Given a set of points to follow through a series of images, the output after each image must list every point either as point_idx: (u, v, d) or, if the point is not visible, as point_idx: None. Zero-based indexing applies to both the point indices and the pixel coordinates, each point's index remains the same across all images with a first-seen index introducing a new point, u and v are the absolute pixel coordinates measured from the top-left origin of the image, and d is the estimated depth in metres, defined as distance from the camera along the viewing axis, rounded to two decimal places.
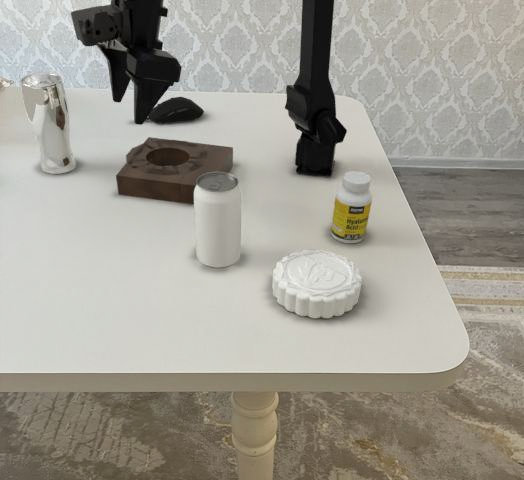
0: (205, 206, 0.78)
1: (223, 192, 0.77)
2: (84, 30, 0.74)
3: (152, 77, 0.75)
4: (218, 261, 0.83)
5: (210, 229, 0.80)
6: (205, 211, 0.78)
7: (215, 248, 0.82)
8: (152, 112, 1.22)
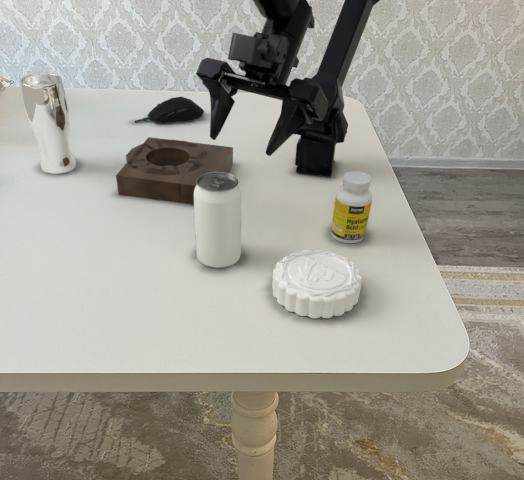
0: (205, 206, 0.78)
1: (223, 192, 0.77)
2: (265, 48, 0.74)
3: (317, 107, 0.78)
4: (218, 261, 0.83)
5: (210, 229, 0.80)
6: (205, 211, 0.78)
7: (215, 248, 0.82)
8: (152, 112, 1.22)
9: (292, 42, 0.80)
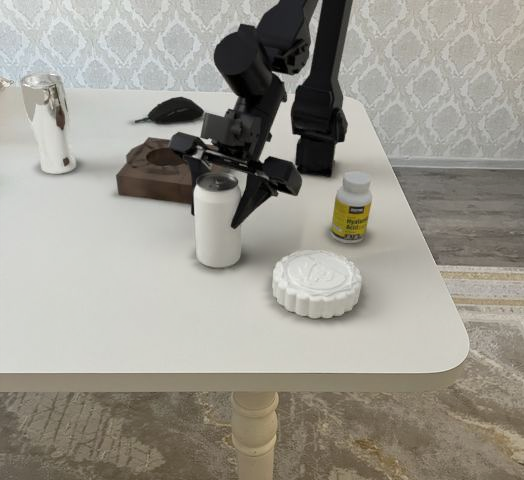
0: (205, 206, 0.78)
1: (223, 192, 0.77)
2: (238, 129, 0.73)
3: (291, 185, 0.77)
4: (218, 261, 0.83)
5: (210, 229, 0.80)
6: (205, 211, 0.78)
7: (215, 248, 0.82)
8: (152, 112, 1.22)
9: (265, 119, 0.79)
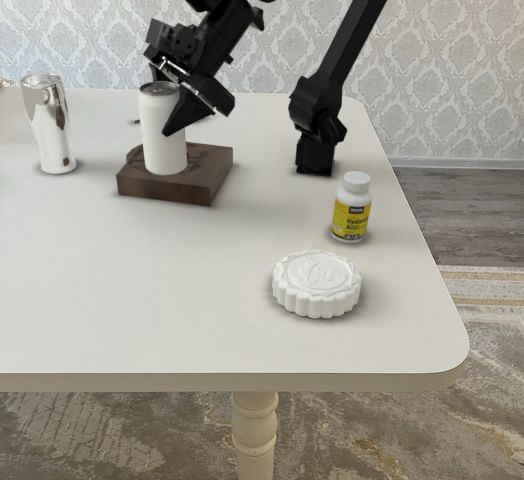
0: (140, 108, 0.84)
1: (155, 97, 0.82)
2: (165, 34, 0.77)
3: (211, 100, 0.79)
4: (154, 167, 0.89)
5: (145, 132, 0.86)
6: (141, 113, 0.85)
7: (150, 152, 0.88)
8: None
9: (218, 37, 0.82)
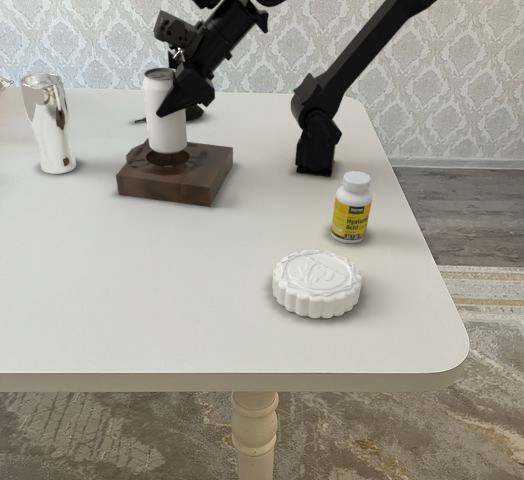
0: (143, 88, 0.94)
1: (152, 80, 0.92)
2: (160, 25, 0.86)
3: (188, 89, 0.87)
4: (151, 143, 0.99)
5: (146, 111, 0.96)
6: None
7: (149, 130, 0.98)
8: None
9: (215, 34, 0.89)
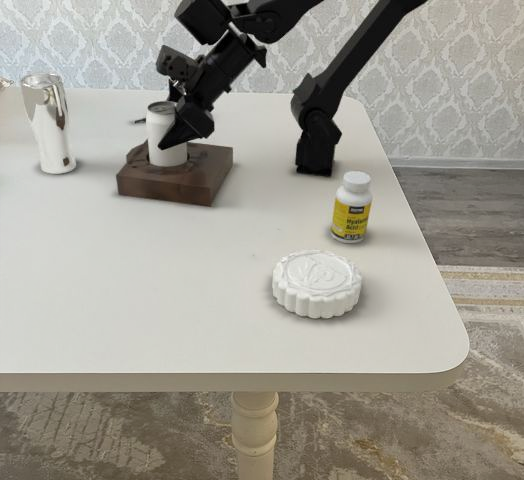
0: (146, 121, 0.98)
1: (155, 114, 0.96)
2: (162, 60, 0.89)
3: (188, 122, 0.90)
4: None
5: (148, 142, 1.00)
6: None
7: (151, 160, 1.01)
8: None
9: (215, 69, 0.92)
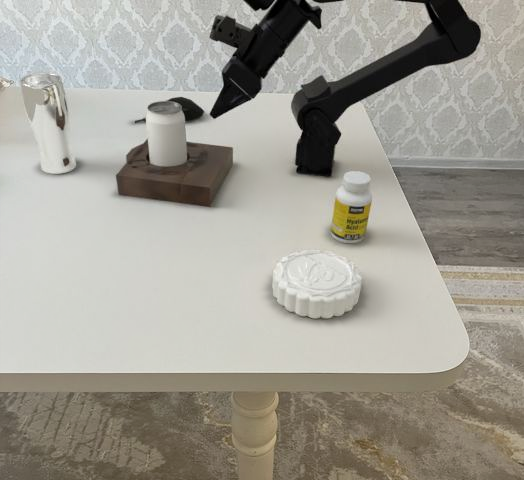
0: (146, 121, 0.98)
1: (155, 114, 0.96)
2: (213, 24, 0.90)
3: (233, 79, 0.88)
4: None
5: (148, 142, 1.00)
6: (146, 125, 0.98)
7: (151, 160, 1.01)
8: None
9: (266, 31, 0.91)
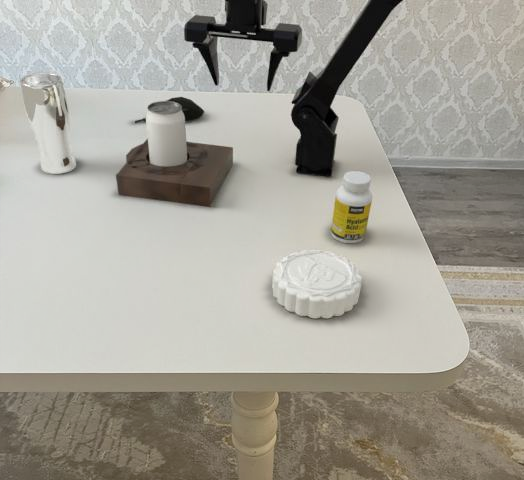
0: (146, 121, 0.98)
1: (155, 114, 0.96)
2: None
3: None
4: None
5: (148, 142, 1.00)
6: (146, 125, 0.98)
7: (151, 160, 1.01)
8: None
9: None
